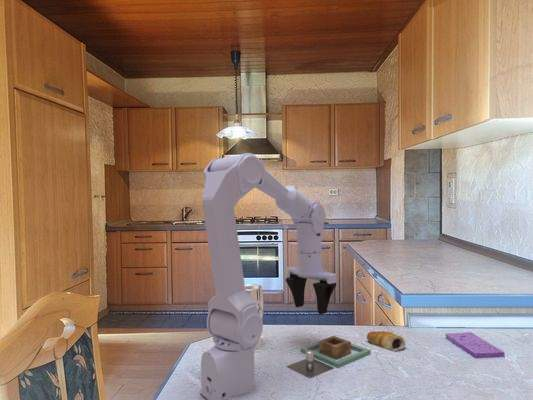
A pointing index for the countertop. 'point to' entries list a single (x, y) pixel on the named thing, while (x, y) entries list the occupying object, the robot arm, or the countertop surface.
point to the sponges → (474, 345)
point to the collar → (334, 347)
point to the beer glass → (257, 295)
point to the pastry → (386, 340)
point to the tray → (361, 353)
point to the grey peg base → (310, 366)
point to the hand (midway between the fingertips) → (310, 309)
